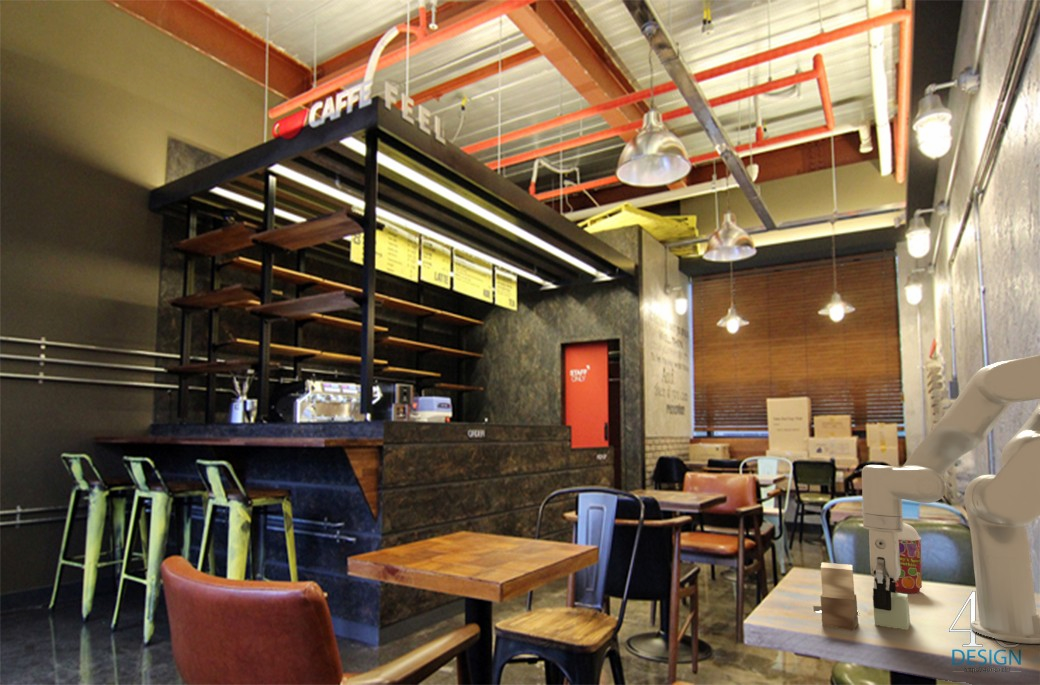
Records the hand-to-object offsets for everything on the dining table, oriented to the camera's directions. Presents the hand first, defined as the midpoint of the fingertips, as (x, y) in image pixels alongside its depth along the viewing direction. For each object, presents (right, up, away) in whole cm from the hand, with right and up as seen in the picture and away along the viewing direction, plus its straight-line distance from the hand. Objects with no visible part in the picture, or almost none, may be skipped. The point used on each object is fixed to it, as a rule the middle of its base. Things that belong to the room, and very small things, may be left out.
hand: (885, 604), depth 136 cm
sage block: (+1, -4, -1) cm, 4 cm away
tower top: (-10, +2, -1) cm, 11 cm away
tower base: (-10, -4, -1) cm, 11 cm away
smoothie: (+22, -8, +28) cm, 36 cm away
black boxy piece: (-6, -6, +9) cm, 13 cm away
